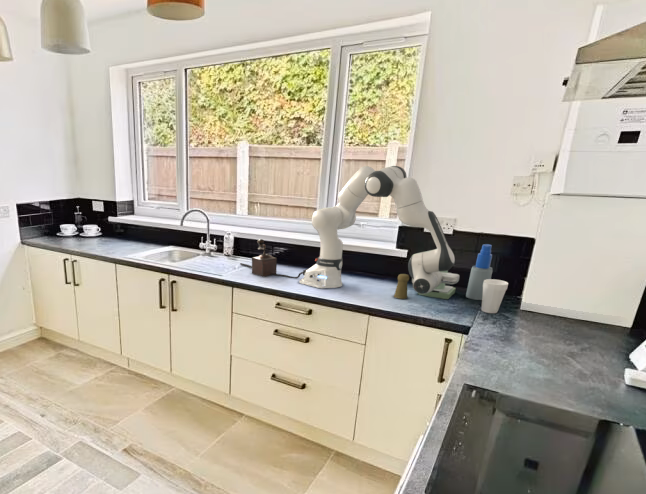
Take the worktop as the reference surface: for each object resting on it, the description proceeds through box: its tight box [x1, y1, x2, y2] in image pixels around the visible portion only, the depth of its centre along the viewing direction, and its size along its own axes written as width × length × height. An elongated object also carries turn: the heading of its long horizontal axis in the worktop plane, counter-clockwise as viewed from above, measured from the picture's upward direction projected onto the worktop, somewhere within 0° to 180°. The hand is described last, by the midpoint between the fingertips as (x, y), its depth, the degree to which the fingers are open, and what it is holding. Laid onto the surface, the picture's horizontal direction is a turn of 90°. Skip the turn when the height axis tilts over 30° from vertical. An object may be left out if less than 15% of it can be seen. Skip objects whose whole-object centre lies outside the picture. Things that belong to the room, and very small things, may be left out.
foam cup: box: [480, 278, 509, 314], centre depth 198 cm, size 10×9×13 cm
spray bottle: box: [465, 243, 494, 301], centre depth 214 cm, size 9×9×25 cm
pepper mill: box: [251, 238, 278, 278], centre depth 258 cm, size 16×11×18 cm
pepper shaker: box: [393, 273, 410, 300], centre depth 216 cm, size 6×6×11 cm
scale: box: [417, 285, 456, 300], centre depth 224 cm, size 14×14×3 cm
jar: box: [435, 270, 449, 289], centre depth 221 cm, size 6×6×11 cm
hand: (439, 273), depth 219 cm, fingers open, 8 cm apart
